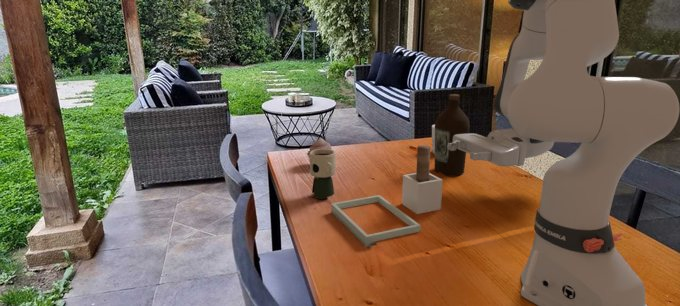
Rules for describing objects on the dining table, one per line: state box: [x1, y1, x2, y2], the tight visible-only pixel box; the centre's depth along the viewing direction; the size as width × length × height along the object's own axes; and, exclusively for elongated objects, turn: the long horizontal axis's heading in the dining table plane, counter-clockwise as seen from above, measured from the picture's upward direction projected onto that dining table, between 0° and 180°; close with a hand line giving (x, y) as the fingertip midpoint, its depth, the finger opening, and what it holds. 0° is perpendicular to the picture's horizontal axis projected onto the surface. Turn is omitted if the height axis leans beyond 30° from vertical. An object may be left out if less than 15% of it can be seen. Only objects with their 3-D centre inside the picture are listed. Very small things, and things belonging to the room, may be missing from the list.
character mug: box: [308, 149, 336, 200], centre depth 125 cm, size 11×7×13 cm, turn 26°
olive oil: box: [434, 93, 471, 177], centre depth 143 cm, size 11×11×25 cm
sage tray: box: [330, 194, 422, 248], centre depth 110 cm, size 20×14×2 cm
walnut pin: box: [415, 145, 432, 183], centre depth 116 cm, size 3×3×16 cm
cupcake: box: [306, 137, 332, 158], centre depth 151 cm, size 9×9×10 cm
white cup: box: [431, 124, 435, 155], centre depth 165 cm, size 8×8×10 cm
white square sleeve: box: [401, 172, 443, 215], centre depth 117 cm, size 7×7×9 cm
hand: (459, 151), depth 118 cm, fingers open, 8 cm apart
